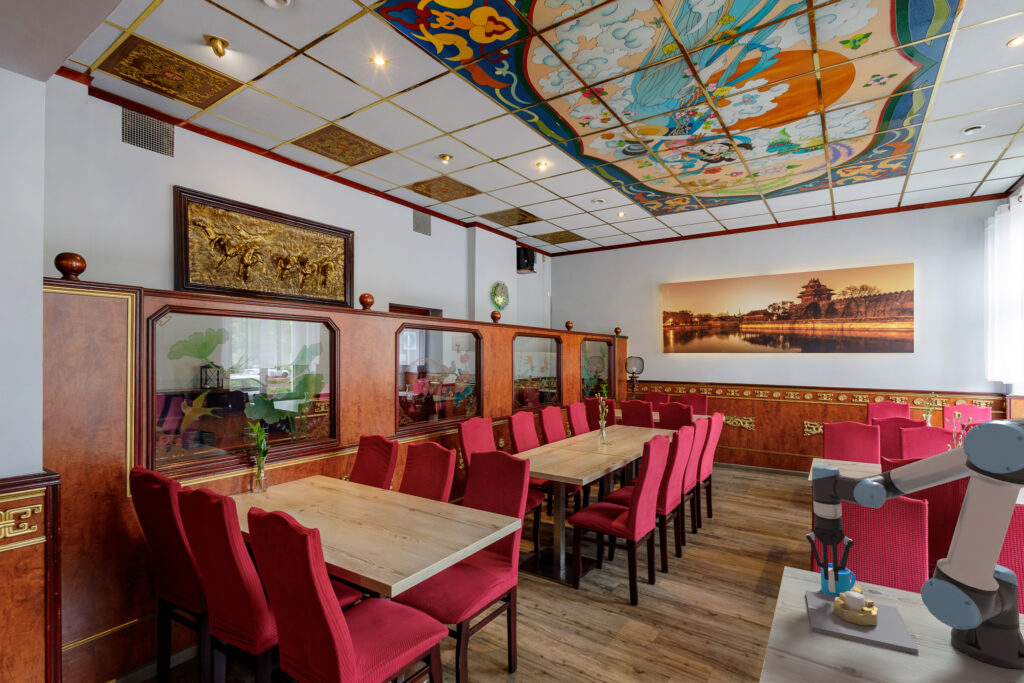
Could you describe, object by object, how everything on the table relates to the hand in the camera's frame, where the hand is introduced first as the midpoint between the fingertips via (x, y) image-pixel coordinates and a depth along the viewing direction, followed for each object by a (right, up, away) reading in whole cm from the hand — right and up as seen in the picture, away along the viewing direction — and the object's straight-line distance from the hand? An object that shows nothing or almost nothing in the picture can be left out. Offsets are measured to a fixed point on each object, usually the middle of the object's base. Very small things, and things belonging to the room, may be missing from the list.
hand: (831, 590), depth 152 cm
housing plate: (+1, -4, -9) cm, 10 cm away
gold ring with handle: (+2, -3, -8) cm, 9 cm away
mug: (+8, -5, +8) cm, 12 cm away
